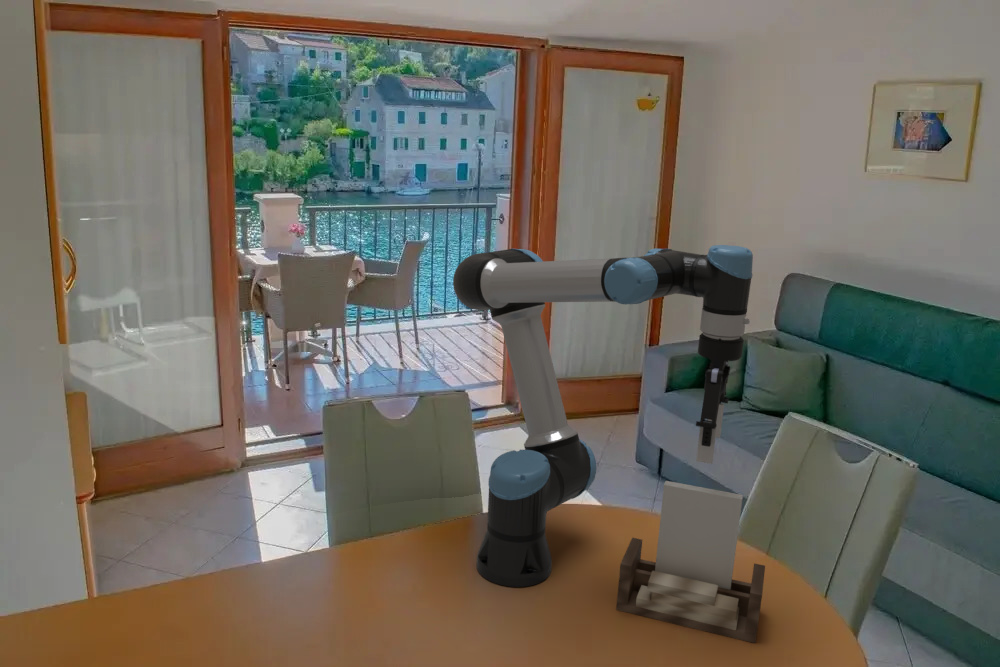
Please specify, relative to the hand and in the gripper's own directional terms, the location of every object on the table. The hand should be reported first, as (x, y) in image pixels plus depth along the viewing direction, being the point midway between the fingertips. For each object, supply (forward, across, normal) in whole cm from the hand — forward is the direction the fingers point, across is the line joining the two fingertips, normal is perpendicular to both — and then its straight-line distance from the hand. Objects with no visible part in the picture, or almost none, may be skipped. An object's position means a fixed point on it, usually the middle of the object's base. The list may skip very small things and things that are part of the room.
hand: (708, 448), depth 148 cm
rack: (+32, -2, 0) cm, 32 cm away
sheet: (+30, 0, 0) cm, 30 cm away
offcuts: (+30, -5, 0) cm, 31 cm away
